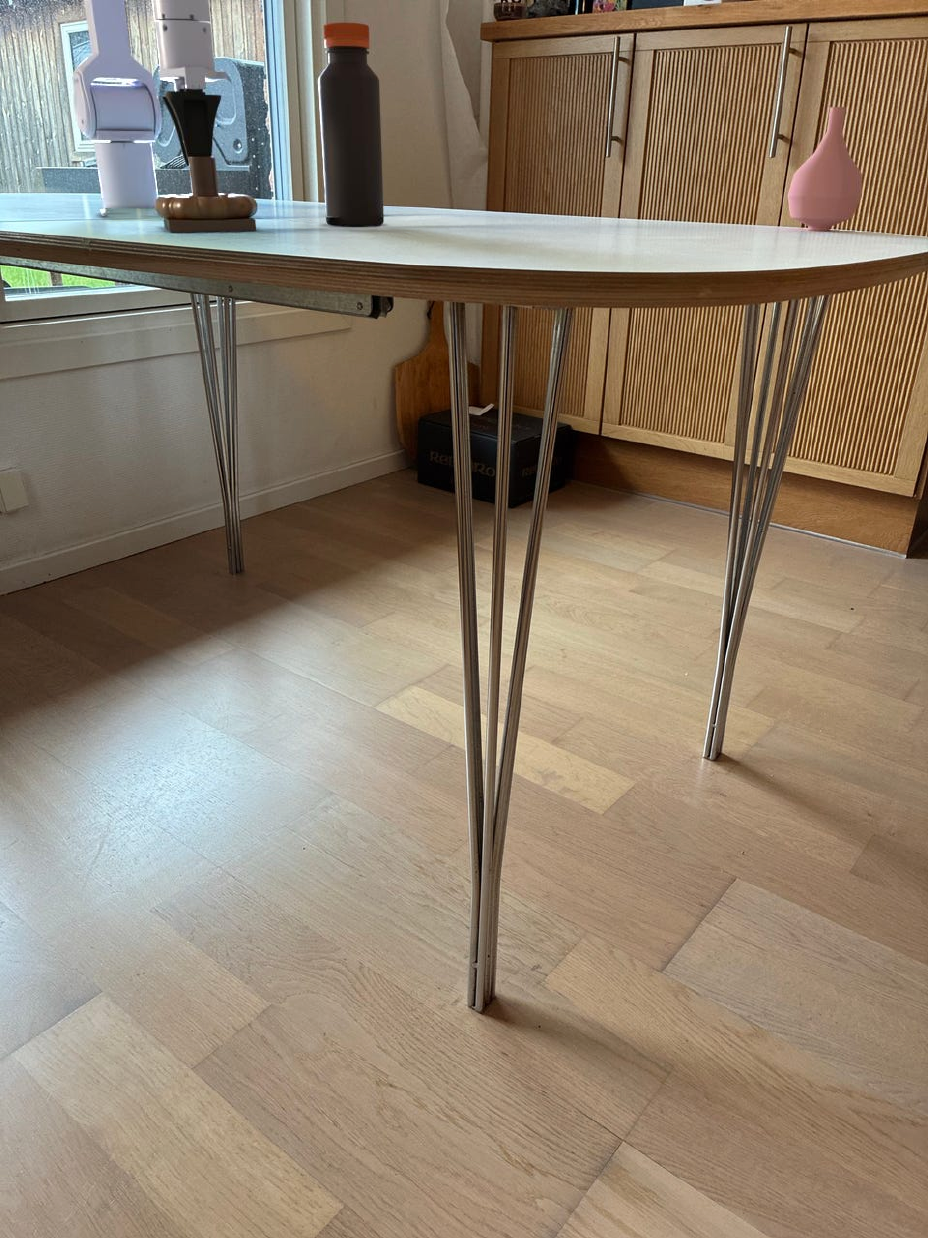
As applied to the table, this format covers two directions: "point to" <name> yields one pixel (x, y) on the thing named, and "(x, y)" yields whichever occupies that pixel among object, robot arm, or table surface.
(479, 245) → the table surface
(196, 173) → the wooden peg stand
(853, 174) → the pink vase
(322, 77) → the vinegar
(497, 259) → the table surface
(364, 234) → the table surface
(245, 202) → the scalloped wooden ring
